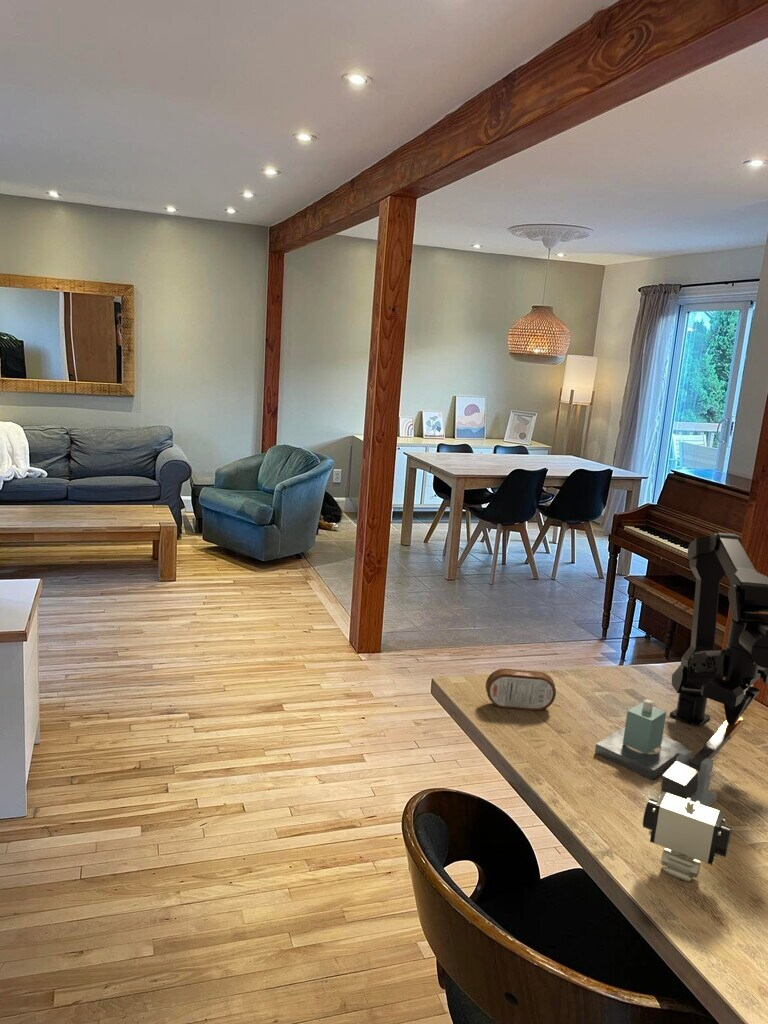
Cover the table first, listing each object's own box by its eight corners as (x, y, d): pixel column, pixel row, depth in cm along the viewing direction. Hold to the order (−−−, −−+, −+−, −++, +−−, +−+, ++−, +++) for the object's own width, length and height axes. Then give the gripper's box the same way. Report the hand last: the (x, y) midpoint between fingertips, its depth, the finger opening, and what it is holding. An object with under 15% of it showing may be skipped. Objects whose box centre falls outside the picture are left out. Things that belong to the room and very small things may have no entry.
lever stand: (678, 782, 141) (684, 743, 139) (715, 800, 136) (723, 759, 134) (662, 794, 137) (669, 753, 135) (701, 812, 132) (708, 770, 130)
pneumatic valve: (717, 897, 111) (731, 824, 109) (635, 865, 117) (646, 795, 114) (723, 877, 116) (736, 806, 113) (644, 846, 122) (655, 778, 119)
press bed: (630, 731, 159) (631, 721, 159) (686, 755, 151) (687, 745, 150) (594, 753, 150) (596, 742, 149) (652, 780, 141) (654, 769, 141)
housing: (637, 734, 154) (643, 692, 152) (661, 744, 150) (667, 702, 148) (622, 743, 149) (628, 701, 148) (646, 754, 146) (653, 710, 144)
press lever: (726, 724, 149) (727, 706, 147) (747, 732, 146) (749, 714, 145) (661, 794, 132) (662, 775, 131) (683, 805, 129) (685, 785, 128)
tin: (552, 707, 168) (556, 671, 166) (554, 713, 165) (559, 677, 163) (483, 701, 169) (487, 665, 167) (484, 708, 166) (488, 671, 164)
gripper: (721, 622, 153) (709, 695, 156) (679, 643, 140) (667, 721, 144) (780, 640, 145) (766, 715, 149) (741, 663, 133) (727, 745, 136)
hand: (730, 723), depth 144 cm, fingers closed
